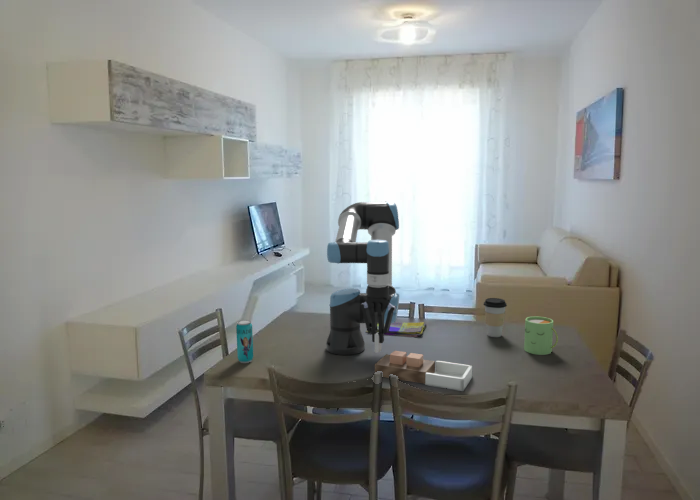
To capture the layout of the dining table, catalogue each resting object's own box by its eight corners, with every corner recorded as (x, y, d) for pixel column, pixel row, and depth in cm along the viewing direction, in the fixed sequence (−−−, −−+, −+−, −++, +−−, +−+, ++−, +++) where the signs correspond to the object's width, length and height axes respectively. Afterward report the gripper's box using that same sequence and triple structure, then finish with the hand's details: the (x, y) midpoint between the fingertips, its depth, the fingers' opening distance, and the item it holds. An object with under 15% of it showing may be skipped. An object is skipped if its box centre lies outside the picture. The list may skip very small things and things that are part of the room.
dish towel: (375, 322, 253) (375, 316, 253) (428, 326, 246) (428, 320, 245) (364, 334, 237) (364, 327, 236) (421, 339, 229) (421, 332, 229)
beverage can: (240, 365, 200) (238, 325, 198) (235, 360, 205) (234, 321, 203) (255, 362, 203) (254, 322, 200) (250, 357, 208) (249, 318, 206)
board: (374, 375, 189) (374, 364, 188) (386, 364, 199) (386, 354, 198) (425, 383, 182) (425, 372, 181) (434, 372, 191) (435, 361, 191)
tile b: (406, 365, 187) (406, 357, 187) (410, 361, 191) (410, 352, 191) (419, 367, 185) (419, 358, 185) (423, 363, 189) (423, 354, 189)
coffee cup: (506, 339, 226) (507, 303, 224) (482, 337, 228) (483, 302, 226) (504, 332, 235) (506, 297, 233) (482, 331, 237) (483, 297, 235)
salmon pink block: (389, 363, 190) (389, 354, 189) (394, 358, 194) (394, 350, 193) (402, 364, 188) (402, 356, 187) (406, 360, 192) (406, 352, 191)
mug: (519, 350, 212) (520, 320, 210) (531, 344, 220) (532, 314, 218) (551, 358, 204) (552, 327, 202) (562, 351, 211) (564, 320, 209)
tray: (425, 385, 181) (425, 373, 180) (436, 371, 192) (436, 360, 192) (463, 391, 175) (463, 379, 175) (472, 376, 187) (472, 365, 186)
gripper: (356, 285, 189) (356, 352, 192) (391, 288, 184) (391, 357, 187) (364, 281, 196) (365, 345, 199) (399, 284, 190) (399, 350, 194)
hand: (378, 351), depth 193 cm, fingers closed
